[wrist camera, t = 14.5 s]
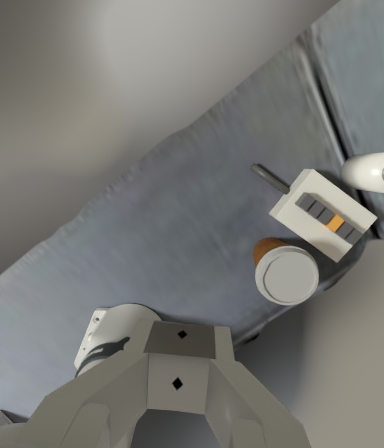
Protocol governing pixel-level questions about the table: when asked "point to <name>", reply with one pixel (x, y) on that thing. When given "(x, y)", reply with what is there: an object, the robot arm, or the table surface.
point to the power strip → (329, 202)
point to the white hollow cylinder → (364, 172)
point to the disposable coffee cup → (284, 272)
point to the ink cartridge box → (4, 419)
